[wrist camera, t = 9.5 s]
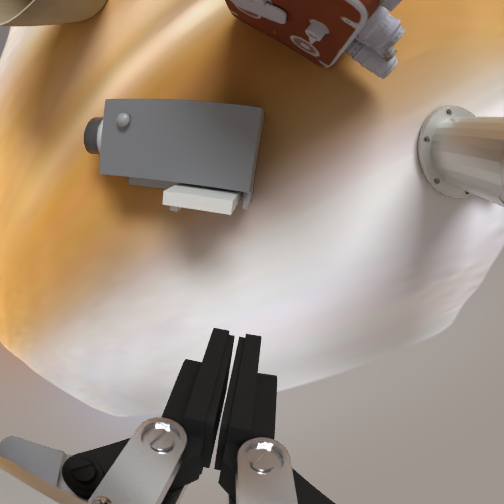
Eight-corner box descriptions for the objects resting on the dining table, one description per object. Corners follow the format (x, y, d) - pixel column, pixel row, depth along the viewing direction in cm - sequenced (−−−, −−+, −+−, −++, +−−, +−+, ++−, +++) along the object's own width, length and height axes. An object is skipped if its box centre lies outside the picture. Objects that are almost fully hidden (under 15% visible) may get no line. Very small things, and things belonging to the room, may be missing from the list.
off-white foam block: (243, 187, 36) (232, 200, 28) (240, 204, 37) (229, 222, 29) (187, 179, 36) (163, 190, 29) (185, 196, 37) (162, 212, 30)
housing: (265, 112, 33) (262, 107, 27) (251, 200, 38) (246, 213, 32) (110, 103, 34) (83, 100, 28) (103, 180, 38) (77, 189, 32)
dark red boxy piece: (356, 106, 32) (431, 80, 14) (224, 23, 29) (174, -61, 11) (393, 56, 29) (479, 5, 10) (265, -23, 26) (251, -120, 8)
